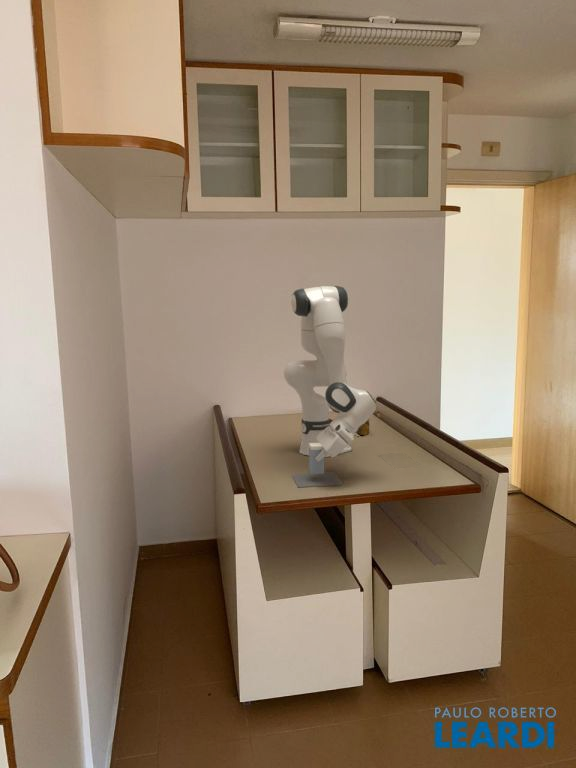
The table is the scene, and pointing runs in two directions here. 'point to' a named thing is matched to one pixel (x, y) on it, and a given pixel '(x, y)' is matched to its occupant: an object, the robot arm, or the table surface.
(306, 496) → the table surface
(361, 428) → the condiment
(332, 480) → the mat
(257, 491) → the table surface
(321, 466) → the box
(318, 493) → the table surface
